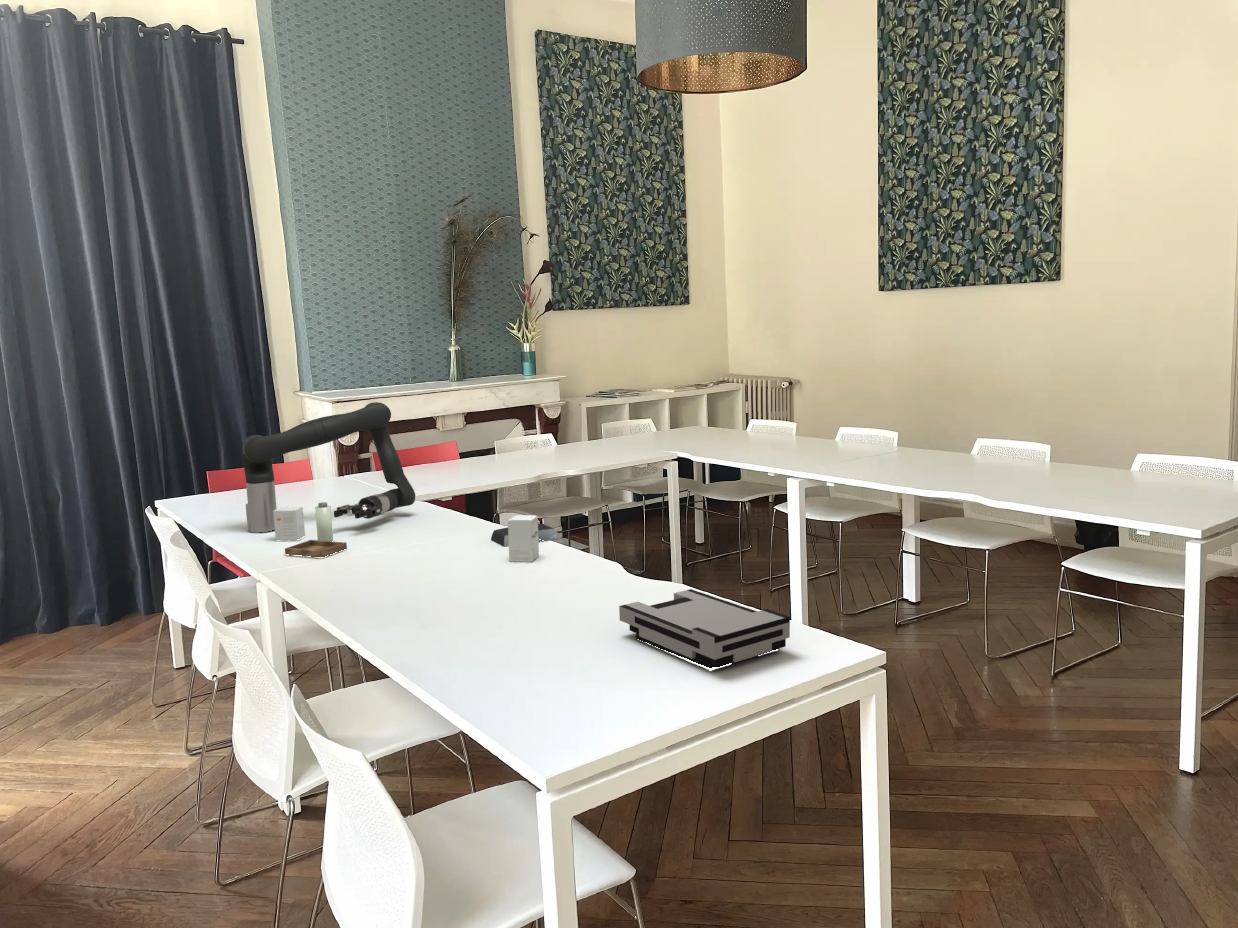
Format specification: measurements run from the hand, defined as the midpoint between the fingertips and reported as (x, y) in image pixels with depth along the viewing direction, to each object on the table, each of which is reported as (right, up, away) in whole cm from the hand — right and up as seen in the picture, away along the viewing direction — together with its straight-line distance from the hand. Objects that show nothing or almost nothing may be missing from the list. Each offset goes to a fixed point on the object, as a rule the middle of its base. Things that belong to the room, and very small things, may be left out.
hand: (345, 514), depth 320 cm
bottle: (-4, -9, -9) cm, 13 cm away
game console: (+110, -22, -113) cm, 160 cm away
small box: (-17, -8, -3) cm, 19 cm away
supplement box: (+64, -11, -36) cm, 74 cm away
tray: (-3, -11, -22) cm, 25 cm away
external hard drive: (+62, -8, -11) cm, 63 cm away
